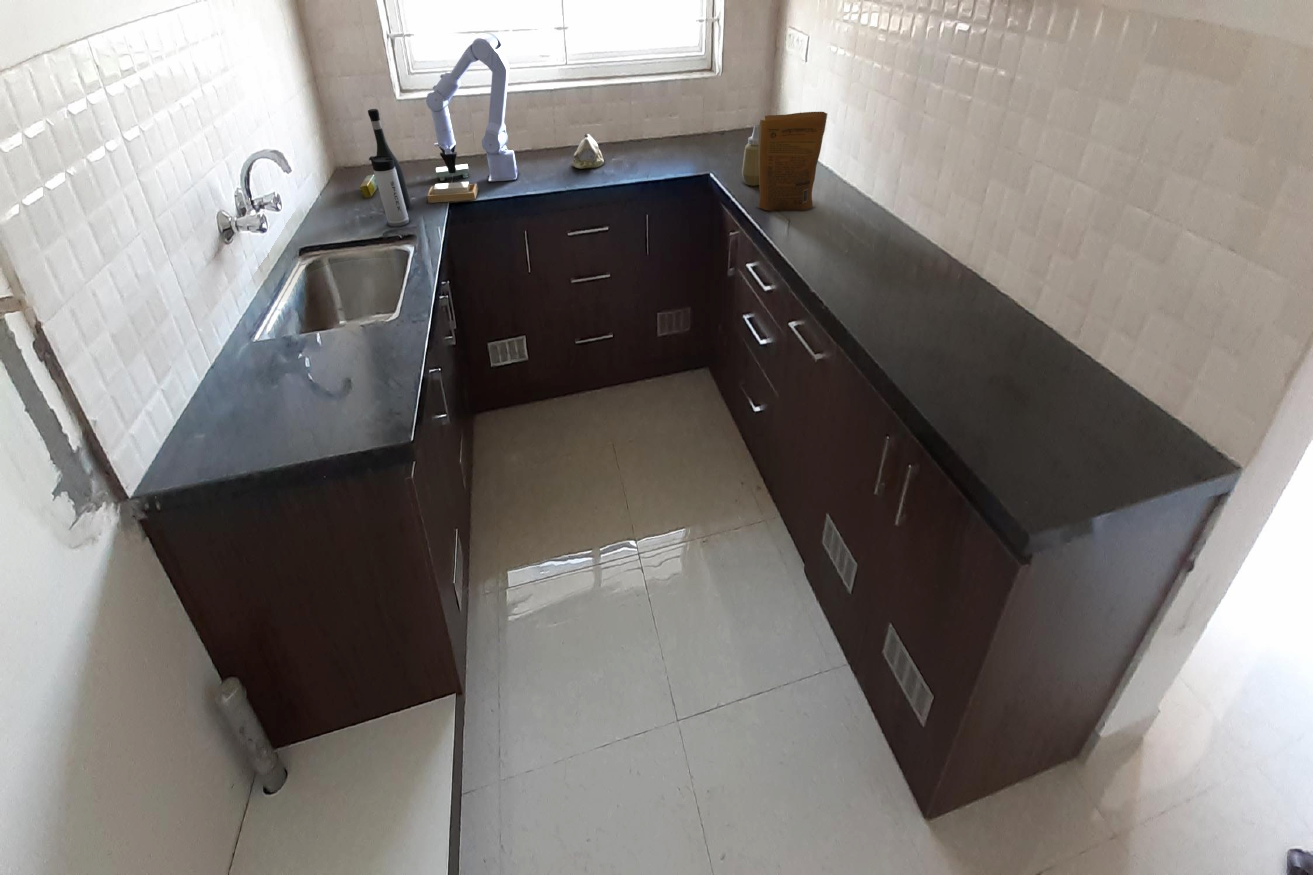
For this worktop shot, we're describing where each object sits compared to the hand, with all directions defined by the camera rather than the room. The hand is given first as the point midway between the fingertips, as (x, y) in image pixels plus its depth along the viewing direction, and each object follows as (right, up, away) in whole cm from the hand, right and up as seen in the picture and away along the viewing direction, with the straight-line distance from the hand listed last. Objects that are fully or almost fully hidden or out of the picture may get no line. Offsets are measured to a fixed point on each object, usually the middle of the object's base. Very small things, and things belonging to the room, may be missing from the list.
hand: (452, 169), depth 251 cm
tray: (+4, -14, -14) cm, 20 cm away
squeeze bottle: (+104, -10, -14) cm, 106 cm away
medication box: (-25, -11, -7) cm, 29 cm away
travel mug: (-8, -28, -30) cm, 42 cm away
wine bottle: (-11, -21, -21) cm, 31 cm away
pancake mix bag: (+112, -24, -32) cm, 119 cm away
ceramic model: (+47, +6, +9) cm, 49 cm away
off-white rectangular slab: (+4, -14, -14) cm, 20 cm away
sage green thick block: (0, -2, +2) cm, 3 cm away
